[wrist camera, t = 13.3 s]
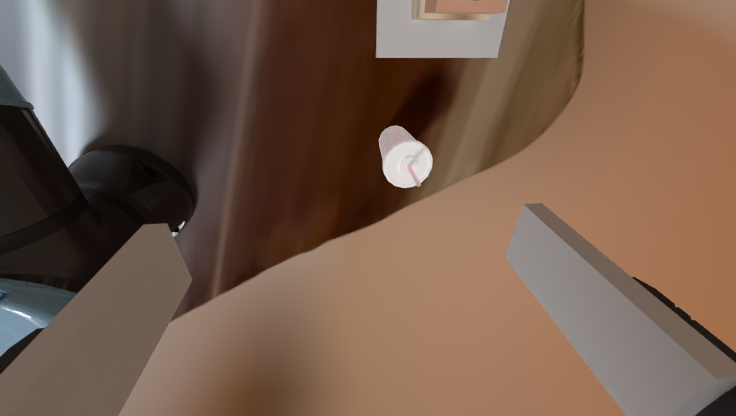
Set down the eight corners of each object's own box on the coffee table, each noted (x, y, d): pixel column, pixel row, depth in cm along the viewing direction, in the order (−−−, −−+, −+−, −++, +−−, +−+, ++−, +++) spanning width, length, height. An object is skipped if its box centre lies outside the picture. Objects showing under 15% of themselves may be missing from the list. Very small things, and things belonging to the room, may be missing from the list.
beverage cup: (376, 118, 40) (395, 155, 28) (418, 122, 41) (453, 159, 29) (371, 159, 43) (386, 207, 32) (410, 161, 44) (439, 210, 33)
